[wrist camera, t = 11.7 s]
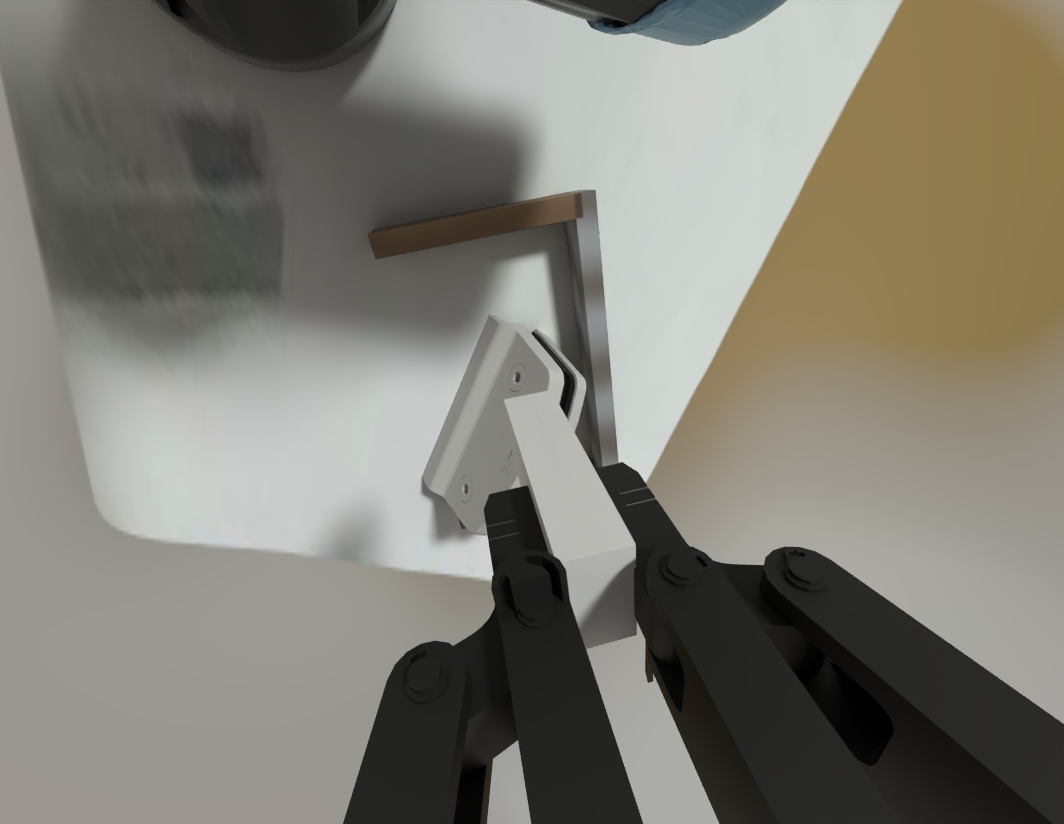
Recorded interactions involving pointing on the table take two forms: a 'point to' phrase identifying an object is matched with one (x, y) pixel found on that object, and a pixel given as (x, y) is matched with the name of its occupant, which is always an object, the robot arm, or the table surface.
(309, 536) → the table surface
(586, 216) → the brown u-shaped frame
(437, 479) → the hinge
